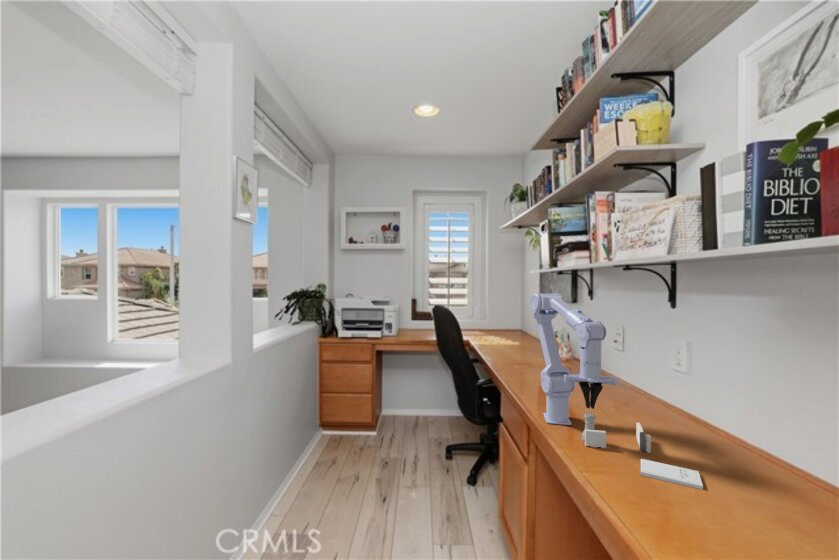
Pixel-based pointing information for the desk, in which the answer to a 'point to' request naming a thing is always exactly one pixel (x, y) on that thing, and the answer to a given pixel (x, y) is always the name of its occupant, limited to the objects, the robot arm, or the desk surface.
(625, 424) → the desk surface
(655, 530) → the desk surface
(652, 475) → the external hard drive
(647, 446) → the wall
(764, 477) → the desk surface
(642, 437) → the door
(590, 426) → the rook chess piece
